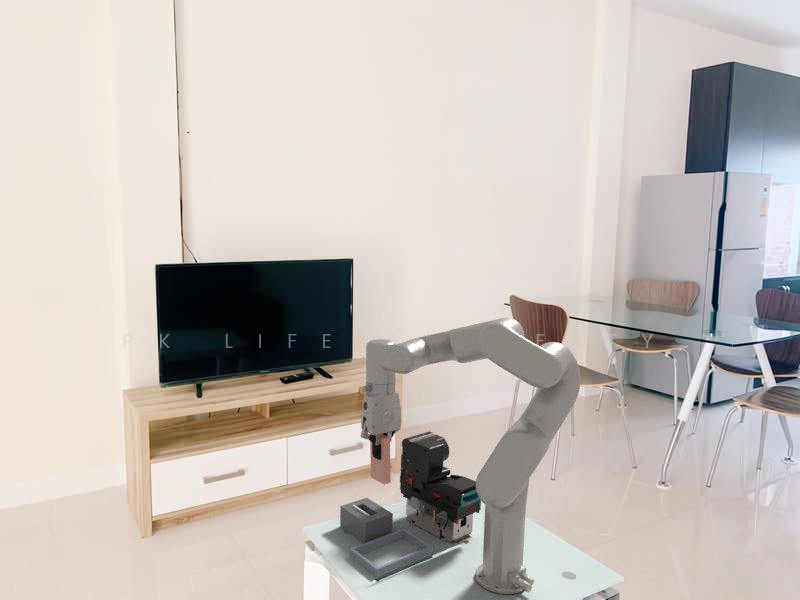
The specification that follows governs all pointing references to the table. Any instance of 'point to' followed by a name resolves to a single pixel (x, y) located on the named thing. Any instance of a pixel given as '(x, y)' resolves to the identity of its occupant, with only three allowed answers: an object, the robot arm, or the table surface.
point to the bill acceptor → (436, 489)
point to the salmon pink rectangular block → (381, 462)
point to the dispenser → (365, 520)
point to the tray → (396, 564)
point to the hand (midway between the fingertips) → (380, 456)
